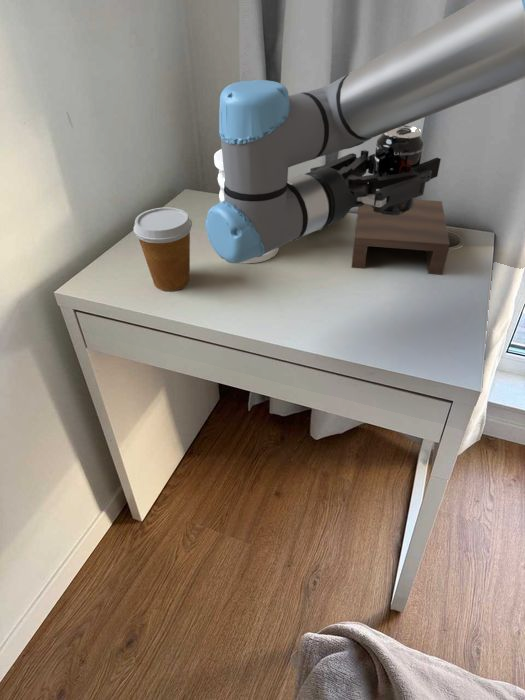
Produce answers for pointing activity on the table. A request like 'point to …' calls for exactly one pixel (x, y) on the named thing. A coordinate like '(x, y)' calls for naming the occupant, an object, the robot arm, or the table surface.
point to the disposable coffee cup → (166, 246)
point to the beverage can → (398, 158)
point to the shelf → (404, 233)
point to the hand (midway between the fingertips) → (416, 160)
